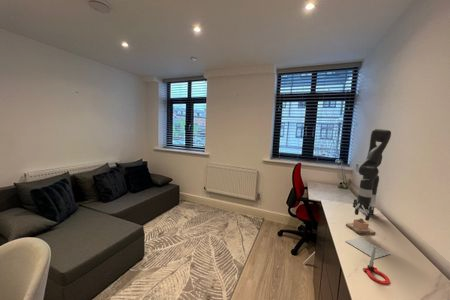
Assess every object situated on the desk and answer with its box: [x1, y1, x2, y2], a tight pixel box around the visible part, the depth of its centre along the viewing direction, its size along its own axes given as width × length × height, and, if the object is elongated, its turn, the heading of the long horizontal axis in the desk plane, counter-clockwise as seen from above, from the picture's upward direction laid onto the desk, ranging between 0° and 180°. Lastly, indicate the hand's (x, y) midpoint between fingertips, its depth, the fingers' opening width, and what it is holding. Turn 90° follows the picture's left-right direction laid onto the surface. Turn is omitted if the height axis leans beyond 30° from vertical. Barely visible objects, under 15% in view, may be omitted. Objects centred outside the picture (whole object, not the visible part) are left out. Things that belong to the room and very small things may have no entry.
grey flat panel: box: [345, 237, 391, 260], centre depth 112 cm, size 23×25×1 cm
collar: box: [353, 218, 370, 230], centre depth 134 cm, size 6×6×4 cm
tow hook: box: [362, 247, 391, 286], centre depth 90 cm, size 8×13×9 cm
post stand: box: [345, 218, 376, 236], centre depth 134 cm, size 12×12×8 cm
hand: (361, 217), depth 134 cm, fingers open, 8 cm apart
